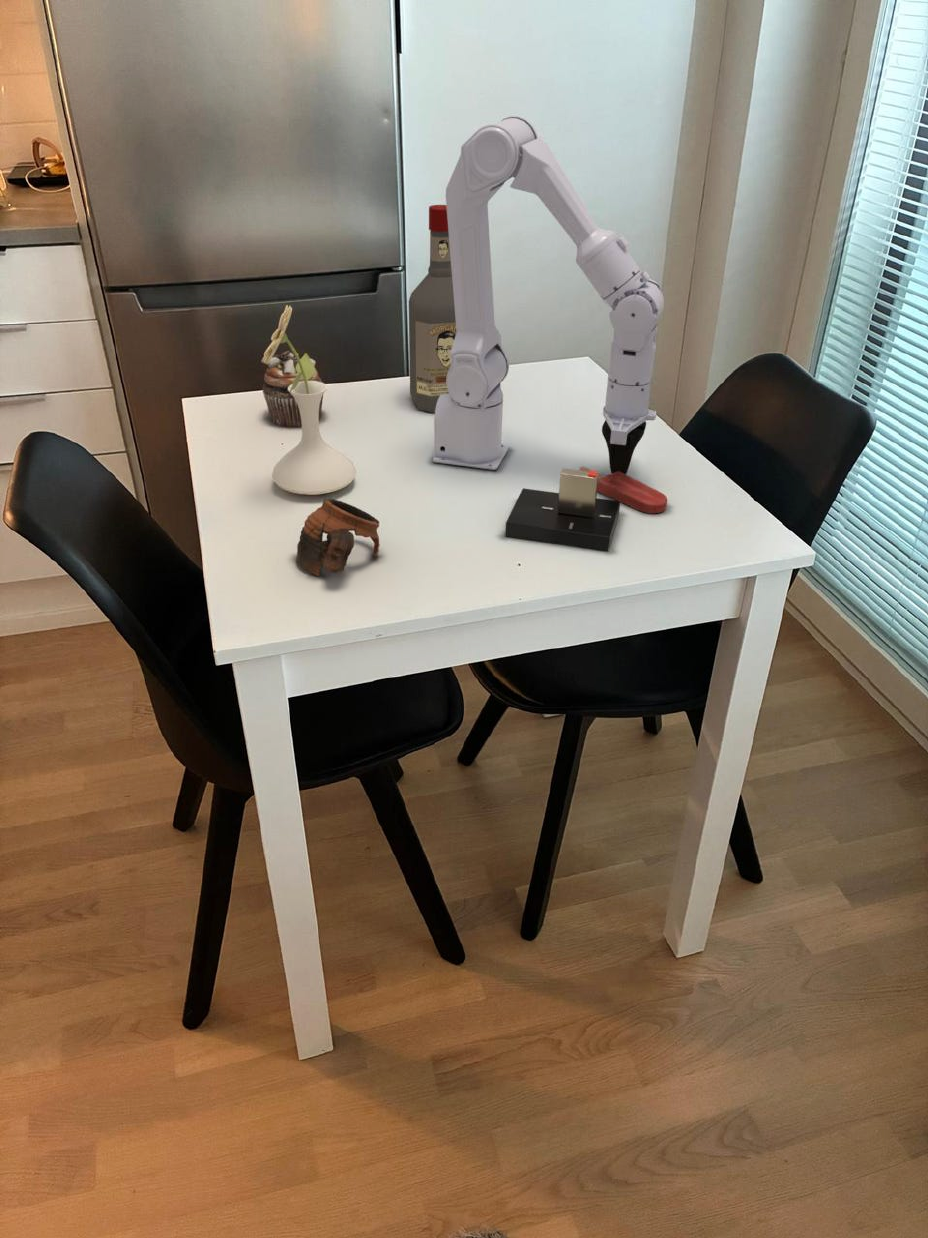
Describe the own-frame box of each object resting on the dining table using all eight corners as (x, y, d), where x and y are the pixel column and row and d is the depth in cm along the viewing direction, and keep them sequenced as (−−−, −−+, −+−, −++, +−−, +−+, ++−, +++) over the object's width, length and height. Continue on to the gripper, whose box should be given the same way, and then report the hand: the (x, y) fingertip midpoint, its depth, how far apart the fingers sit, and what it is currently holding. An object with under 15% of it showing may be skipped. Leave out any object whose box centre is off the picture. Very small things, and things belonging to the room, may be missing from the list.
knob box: (505, 536, 119) (505, 521, 118) (522, 501, 127) (522, 486, 126) (608, 551, 116) (610, 535, 115) (618, 514, 124) (620, 499, 123)
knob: (557, 513, 120) (560, 471, 117) (559, 507, 121) (562, 466, 118) (593, 518, 119) (597, 476, 116) (595, 512, 121) (599, 470, 117)
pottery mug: (287, 549, 117) (313, 487, 115) (358, 576, 120) (384, 516, 118) (292, 576, 105) (320, 508, 104) (370, 605, 108) (398, 540, 107)
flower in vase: (297, 461, 137) (281, 282, 123) (370, 473, 133) (362, 292, 119) (251, 499, 126) (227, 310, 112) (328, 514, 123) (314, 321, 109)
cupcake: (252, 420, 149) (244, 357, 143) (292, 401, 156) (287, 340, 150) (299, 434, 145) (294, 370, 139) (339, 413, 151) (335, 352, 146)
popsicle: (591, 457, 135) (675, 496, 126) (590, 468, 136) (673, 508, 127) (569, 466, 132) (652, 506, 123) (568, 477, 133) (651, 518, 124)
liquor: (407, 394, 159) (404, 201, 142) (460, 390, 161) (463, 200, 144) (418, 414, 152) (416, 214, 135) (474, 410, 154) (478, 212, 137)
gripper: (655, 401, 118) (641, 499, 126) (665, 363, 130) (652, 455, 137) (598, 394, 120) (589, 492, 127) (613, 358, 131) (604, 449, 139)
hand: (618, 472), depth 132 cm, fingers closed
